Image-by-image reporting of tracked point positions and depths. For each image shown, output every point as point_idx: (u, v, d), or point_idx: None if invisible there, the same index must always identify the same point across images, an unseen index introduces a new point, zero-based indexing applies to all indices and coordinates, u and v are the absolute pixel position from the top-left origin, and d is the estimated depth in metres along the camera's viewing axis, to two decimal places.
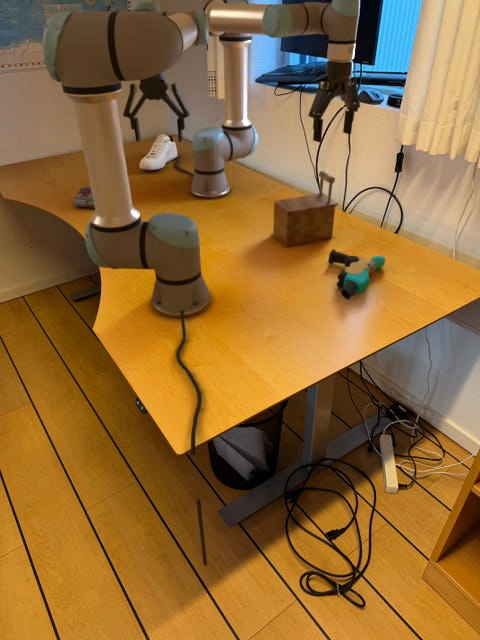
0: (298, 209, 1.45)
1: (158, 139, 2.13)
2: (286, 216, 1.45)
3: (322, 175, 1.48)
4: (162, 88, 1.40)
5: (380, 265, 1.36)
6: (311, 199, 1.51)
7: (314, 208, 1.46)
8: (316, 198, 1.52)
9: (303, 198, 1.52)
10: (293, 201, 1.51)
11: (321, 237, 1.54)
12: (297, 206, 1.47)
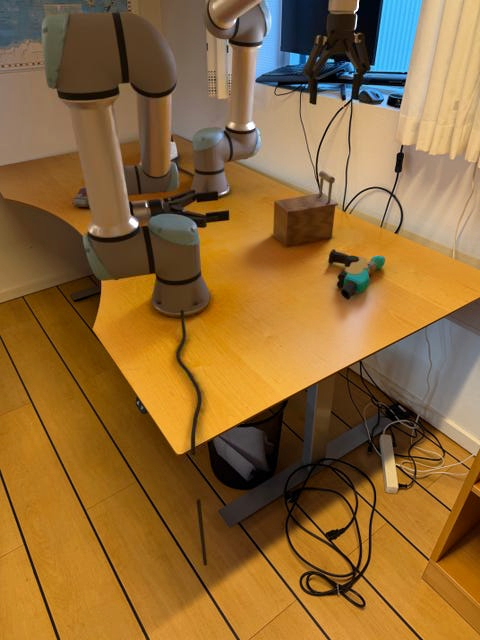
0: (298, 209, 1.45)
1: None
2: (286, 216, 1.45)
3: (322, 175, 1.48)
4: (168, 203, 1.35)
5: (380, 265, 1.36)
6: (311, 199, 1.51)
7: (314, 208, 1.46)
8: (316, 198, 1.52)
9: (303, 198, 1.52)
10: (293, 201, 1.51)
11: (321, 237, 1.54)
12: (297, 206, 1.47)
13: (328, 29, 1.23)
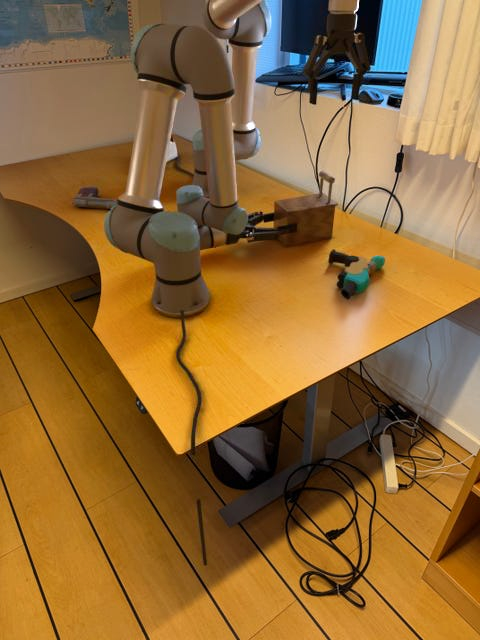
0: (298, 209, 1.45)
1: None
2: (286, 216, 1.45)
3: (322, 175, 1.48)
4: None
5: (380, 265, 1.36)
6: (311, 199, 1.51)
7: (314, 208, 1.46)
8: (316, 198, 1.52)
9: (303, 198, 1.52)
10: (293, 201, 1.51)
11: (321, 237, 1.54)
12: (297, 206, 1.47)
13: (328, 29, 1.23)
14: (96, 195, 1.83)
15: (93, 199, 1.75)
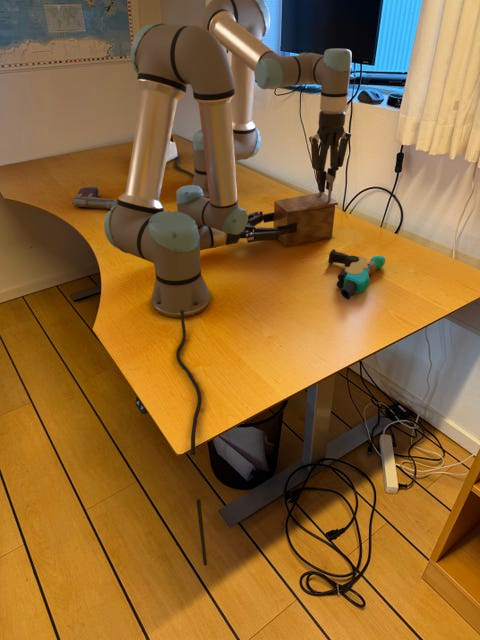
0: (298, 209, 1.45)
1: None
2: (286, 216, 1.45)
3: None
4: None
5: (380, 265, 1.36)
6: (311, 198, 1.51)
7: (314, 208, 1.46)
8: (316, 197, 1.52)
9: (303, 198, 1.52)
10: (293, 200, 1.50)
11: (321, 237, 1.54)
12: (297, 205, 1.47)
13: (320, 125, 1.37)
14: (96, 195, 1.83)
15: (93, 199, 1.75)
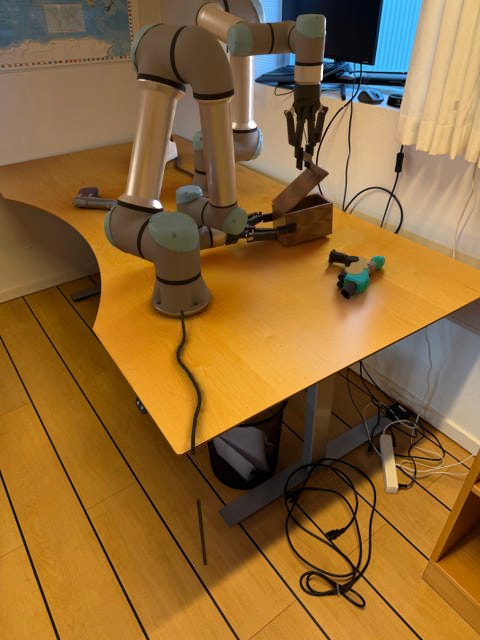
0: (293, 203, 1.43)
1: None
2: (284, 217, 1.45)
3: None
4: None
5: (380, 265, 1.36)
6: (303, 180, 1.47)
7: (307, 192, 1.43)
8: (307, 175, 1.46)
9: (295, 182, 1.48)
10: (287, 192, 1.48)
11: (321, 234, 1.53)
12: (291, 198, 1.45)
13: (295, 97, 1.30)
14: (96, 195, 1.83)
15: (93, 199, 1.75)
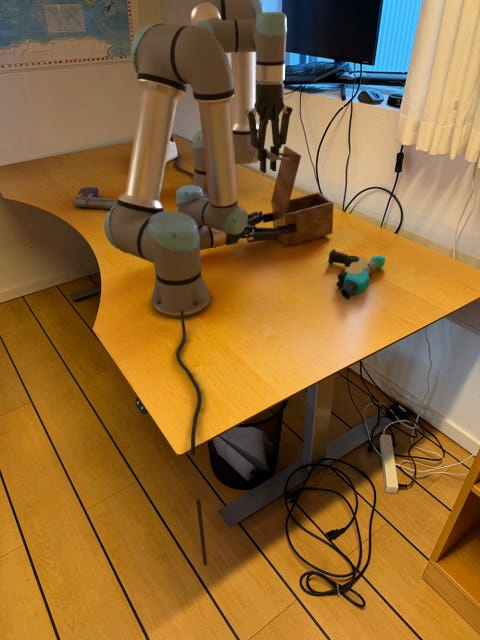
0: (286, 200, 1.42)
1: None
2: (284, 216, 1.45)
3: None
4: None
5: (380, 265, 1.36)
6: (284, 169, 1.42)
7: (292, 183, 1.39)
8: (285, 163, 1.41)
9: (280, 174, 1.45)
10: (278, 187, 1.46)
11: (321, 234, 1.53)
12: (283, 195, 1.43)
13: (256, 98, 1.26)
14: (96, 195, 1.83)
15: (93, 199, 1.75)
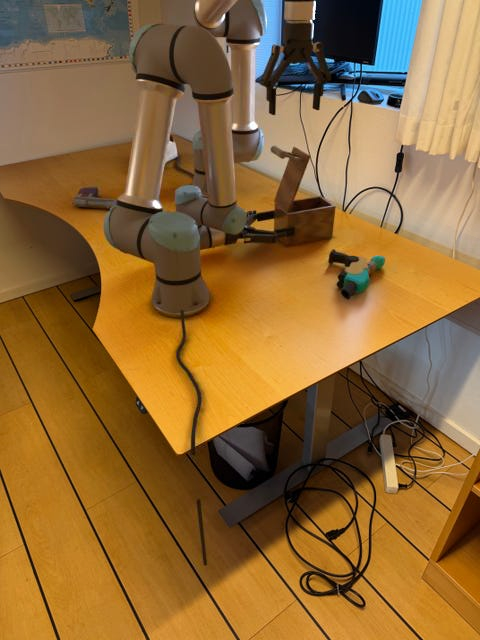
0: (290, 199, 1.42)
1: None
2: (286, 216, 1.45)
3: None
4: None
5: (380, 265, 1.36)
6: (291, 169, 1.43)
7: (299, 183, 1.40)
8: (293, 163, 1.42)
9: (286, 174, 1.45)
10: (283, 187, 1.47)
11: (321, 237, 1.54)
12: (288, 194, 1.44)
13: (285, 38, 1.20)
14: (96, 195, 1.83)
15: (93, 199, 1.75)
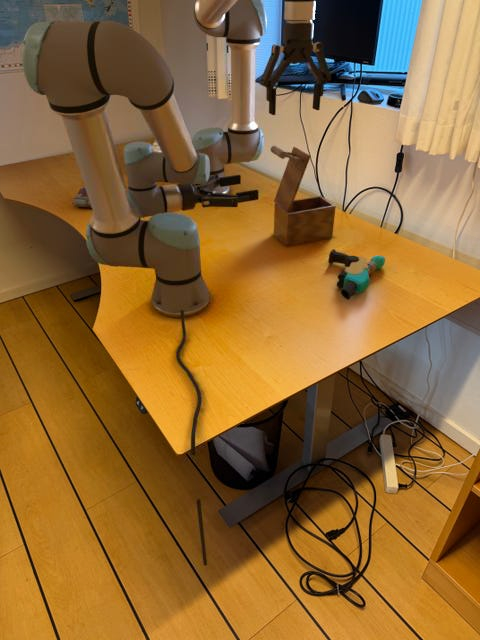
0: (290, 199, 1.42)
1: None
2: (287, 216, 1.45)
3: None
4: (196, 187, 1.37)
5: (380, 265, 1.36)
6: (291, 169, 1.43)
7: (299, 183, 1.40)
8: (293, 163, 1.42)
9: (286, 174, 1.45)
10: (283, 187, 1.47)
11: (321, 237, 1.54)
12: (288, 194, 1.44)
13: (285, 38, 1.20)
14: None
15: None
